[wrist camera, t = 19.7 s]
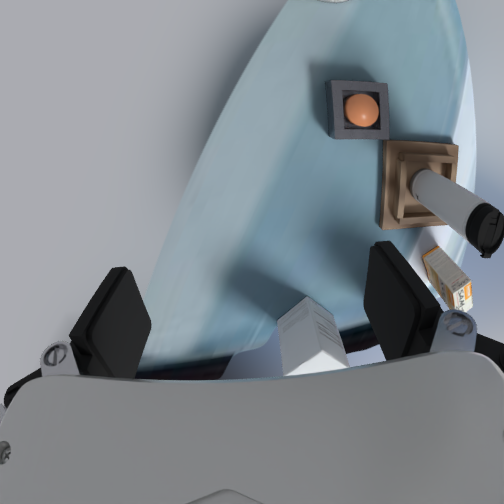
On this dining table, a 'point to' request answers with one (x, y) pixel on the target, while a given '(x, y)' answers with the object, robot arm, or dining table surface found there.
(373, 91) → the button housing
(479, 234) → the travel mug
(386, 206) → the tan flat square tray
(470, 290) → the supplement box
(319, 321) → the supplement box
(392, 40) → the dining table surface
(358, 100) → the button
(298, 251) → the dining table surface
